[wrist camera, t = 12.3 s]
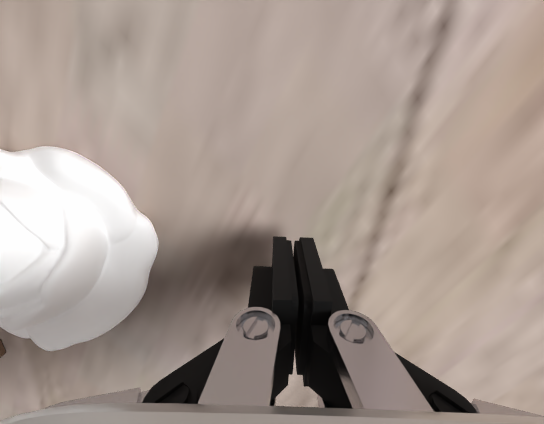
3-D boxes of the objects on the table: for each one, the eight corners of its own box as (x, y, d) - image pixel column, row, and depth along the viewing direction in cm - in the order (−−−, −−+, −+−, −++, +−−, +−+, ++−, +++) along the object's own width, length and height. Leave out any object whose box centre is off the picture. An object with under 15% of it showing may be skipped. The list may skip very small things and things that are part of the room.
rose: (57, 428, 11) (-218, 328, 9) (116, 342, 15) (-64, 260, 13) (159, 259, 8) (-219, 56, 6) (198, 209, 12) (-19, 79, 10)
